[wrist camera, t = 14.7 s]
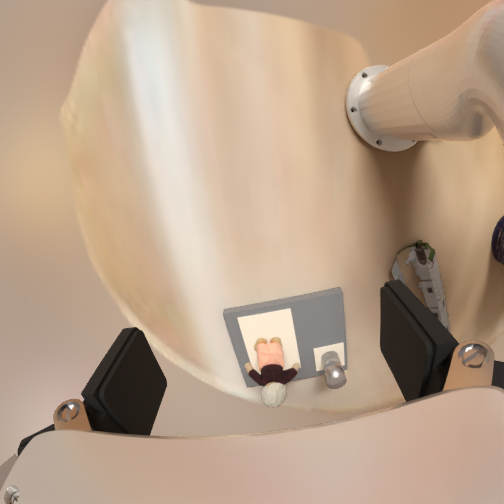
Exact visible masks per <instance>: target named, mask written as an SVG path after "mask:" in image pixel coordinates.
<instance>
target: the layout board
mask: <svg viewBox="0 0 504 504" xmlns="http://www.w3.org/2000/svg"><path fill="white" fill-rule="evenodd" d="M223 316H224V319H225V322H226V325H227V329H228V332H229V335H230V338H231V341H232V344H233V347H234V350H235V353H236V356H237V359H238V362H239V365H240V368H241V371H242V374H243V377H244V380H245V383H246V386H247V387H254V386H261V385H259V384H257V383H256V382H255V381H254V380H253V379H252V378H251V377H250V376H249V375H248V372H247V369H245V367H244V366H245V364H246V363H251V365H252V367H253V368H254V370H256V371H257V372H258V373H259V374H260V375H261V372H260V370H259V367H258V359H257V352H256V351H255V349H254V345H255V343H256V341H257V339H259V338H264V339H266V340H267V344H269V343H270V340H271V338H273V337H279V338H280V339H281V342H282V351H283V355H284V369H283V370H287V369H290V368H291V367H292V366H293V364H294V363H299V364H300V368H299V369H298V374H297V375H296V376H295V377H294V378H293V379H292V380H291V381H293V380H299V379H304V378H309V377H315V376H319V375H324V370H323V366H322V362H321V357H322V355H323V354H324V353H326V352H328V351H335V352H337V353H338V355H339V358H340V361H341V364H342V368H343V370H347V348H346V331H345V316H344V303H343V292H342V290H341V288H340V287H338V288H333V289H328V290H324V291H319V292H314V293H309V294H304V295H299V296H294V297H289V298H284V299H279V300H273V301H268V302H262V303H257V304H251V305H246V306H240V307H234V308H228V309H224V312H223Z"/></svg>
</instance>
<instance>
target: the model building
mask: <svg viewBox="0 0 504 504" xmlns="http://www.w3.org/2000/svg"><path fill="white" fill-rule="evenodd" d="M417 243H418V244H417ZM417 243H415V244H412V245H410V246H408V247H410V252H409V253H410V255H409V258H408V259H407V260H406V261H405V263H406V264H408V263H409V261H410V262H412V265H413V266H414V268H416V269H415V275H417V276H420V280H422V281H421V282H419V286H418V288H419V287H421V289H422V293H424V297H425V299H424V300H425V303H426V304H427V306H428V308H429V309H430V310H431V312H432V313H433V314H434V315H435V316H436V317H437V318H438V319H439V321H440V322H441V323H442V324H443V325H444V326H445V328H446V329H447V330H448V331H449V332H450V325H449V319H448V313H447V309H446V302H445V298H444V291H443V288H444V287H443V284H442V281H441V277H440V273H439V267H438V263H437V259H436V252H435V250H434V249H432V248H431V247H430V246H429V244H428V243H422V240H420V241H417ZM406 248H407V247H406ZM404 249H405V248H404ZM401 251H402V250H401ZM401 251H400V252H401ZM400 252H399V253H400ZM399 253H397V254H396V257H397V255H398V254H399ZM391 270H392V275H393V278H394V280H398V279H400V280H401V281H402V282H403V283H404V284H405V281H404V278H403V274H402V273H401V270H400V268H399V265H398V262H397V260H395V263H394V265H393V267H392V269H391ZM405 285H406V284H405Z"/></svg>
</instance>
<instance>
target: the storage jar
mask: <svg viewBox="0 0 504 504" xmlns="http://www.w3.org/2000/svg"><path fill="white" fill-rule="evenodd" d="M491 246H492V253H493V256H494V258H495V259H496V260H497V261H499V262H501V263H502V264H503V265H504V216H503V217H502V218H501V219H500V220H499V221H498V223H497V225H496V227H495V229H494V232H493V236H492V245H491Z"/></svg>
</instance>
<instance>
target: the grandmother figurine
mask: <svg viewBox="0 0 504 504" xmlns="http://www.w3.org/2000/svg"><path fill="white" fill-rule="evenodd" d="M254 349H255V351H256V352H257V359H258V367H259V370H260V372H261V375H260V374H259V373H258V372H257V371H256V370H254V368H253V367H252V365H251V363H246V364H245V366H244V367H245V369H247V372H248V375H249V376H250V377H251V378H252V379H253V380H254V381H255V382H256V383H257V384H259V385H261V386H265V387H263V388H262V392H261V399H262V402H263V403H264V405H266V406H267V407H278V406H280V405H281V404H282V403H283V402H284V400H285V399H286V396H287V392H286V388H287V387H284V384H286V383H288V382H290V381H291V380H292V379H293V378H294V377H295V376H296V375H297V374H298V369H299V368H300V364H299V363H294V364H293V366H292V367H291V368H290V369H287V370H283V369H284V355H283V351H282V342H281V339H280V338H279V337H273V338H271V340H270V343H269V344H267V340H266V339H264V338H259V339H257V341H256V343H255V345H254Z"/></svg>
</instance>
